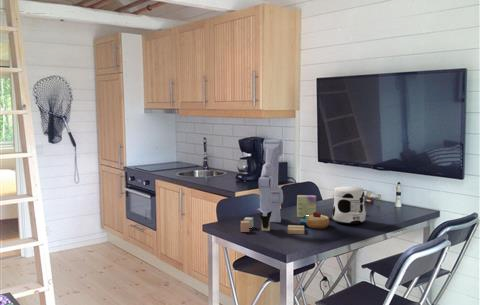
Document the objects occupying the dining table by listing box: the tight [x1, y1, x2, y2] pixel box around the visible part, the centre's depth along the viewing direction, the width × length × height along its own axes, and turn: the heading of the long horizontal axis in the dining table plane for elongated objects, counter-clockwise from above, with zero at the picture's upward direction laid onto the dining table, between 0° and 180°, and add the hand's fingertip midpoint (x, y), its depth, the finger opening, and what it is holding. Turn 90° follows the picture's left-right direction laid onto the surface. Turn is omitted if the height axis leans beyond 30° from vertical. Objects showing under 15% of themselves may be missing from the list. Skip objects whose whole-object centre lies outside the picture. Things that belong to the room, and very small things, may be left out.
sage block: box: [243, 216, 254, 229], centre depth 225 cm, size 4×4×5 cm
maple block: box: [261, 219, 271, 232], centre depth 221 cm, size 4×4×5 cm
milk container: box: [331, 185, 367, 225], centre depth 234 cm, size 17×17×18 cm
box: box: [296, 194, 317, 218], centre depth 248 cm, size 10×6×12 cm, turn 84°
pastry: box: [305, 209, 330, 230], centre depth 227 cm, size 12×12×9 cm
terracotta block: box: [240, 220, 250, 233], centre depth 218 cm, size 4×4×5 cm
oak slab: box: [287, 224, 305, 235], centre depth 218 cm, size 8×8×2 cm
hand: (265, 227), depth 221 cm, fingers closed on maple block, 4 cm apart
